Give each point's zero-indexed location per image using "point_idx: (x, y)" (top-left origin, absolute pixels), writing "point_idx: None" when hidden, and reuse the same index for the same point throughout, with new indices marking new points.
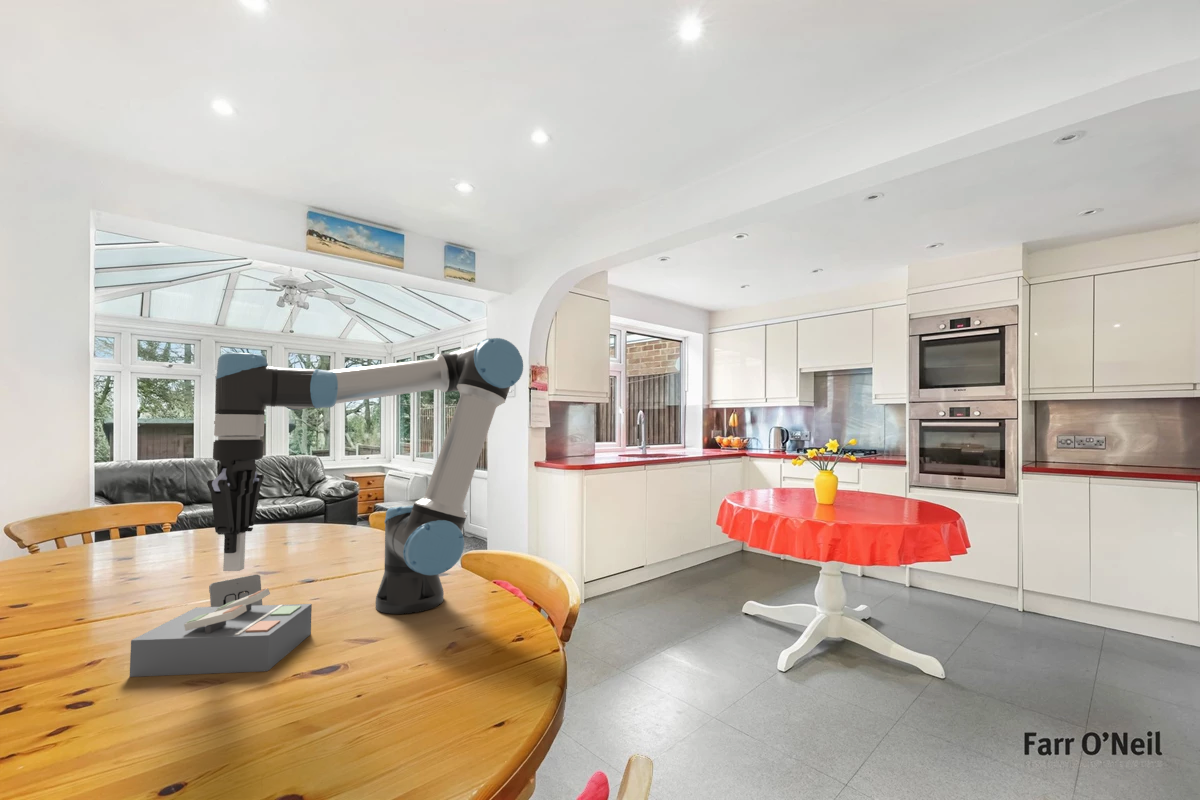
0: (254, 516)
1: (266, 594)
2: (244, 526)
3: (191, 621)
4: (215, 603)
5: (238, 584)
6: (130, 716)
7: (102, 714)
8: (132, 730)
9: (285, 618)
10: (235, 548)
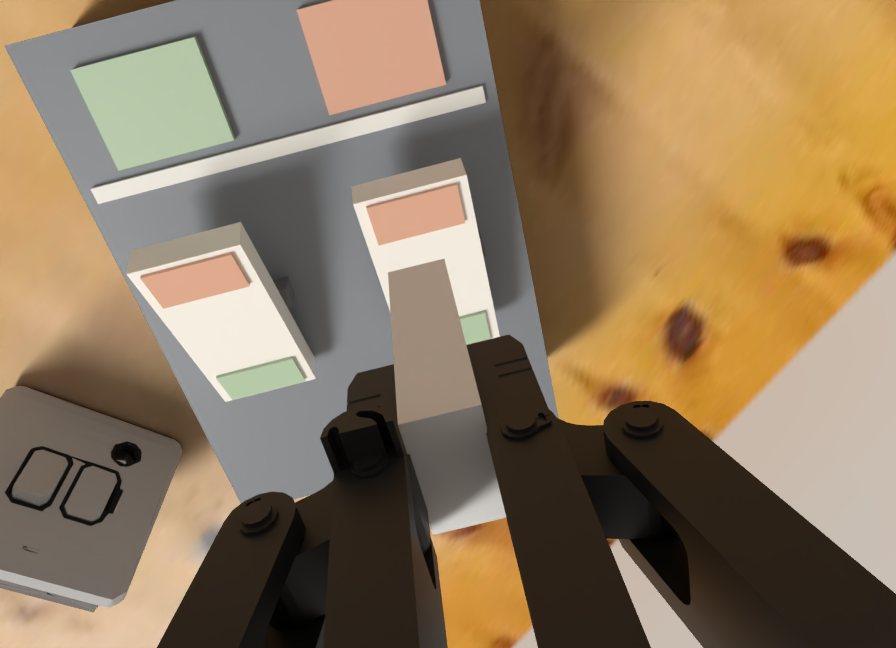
0: (208, 583)
1: (163, 246)
2: (408, 473)
3: (487, 326)
4: (142, 516)
5: (24, 543)
6: (753, 139)
7: (736, 228)
8: (831, 55)
9: (246, 20)
10: (483, 356)
